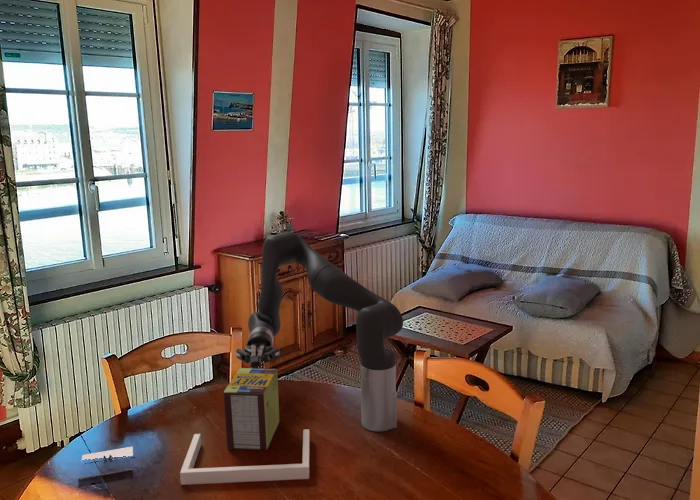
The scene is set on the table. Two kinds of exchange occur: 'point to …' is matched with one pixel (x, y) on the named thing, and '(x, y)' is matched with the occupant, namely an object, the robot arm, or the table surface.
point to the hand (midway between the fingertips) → (255, 365)
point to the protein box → (251, 408)
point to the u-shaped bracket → (242, 468)
